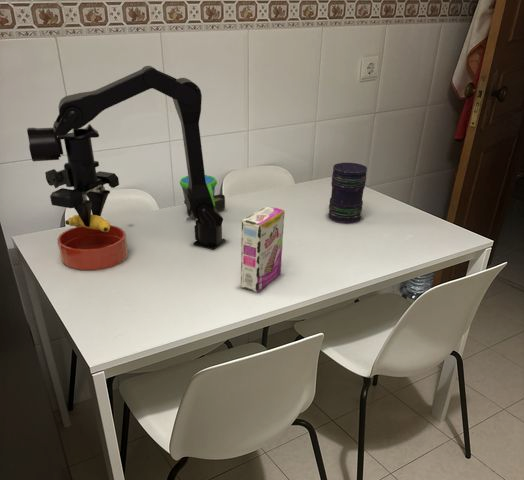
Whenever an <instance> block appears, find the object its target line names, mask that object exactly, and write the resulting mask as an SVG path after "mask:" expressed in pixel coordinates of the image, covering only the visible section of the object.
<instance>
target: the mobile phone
mask: <svg viewBox="0 0 524 480" xmlns="http://www.w3.org/2000/svg"><path fill="white" fill-rule="evenodd" d="M214 202H215V208H216V210H217V211H218V212H219V213H220V212H222V211H224V210H225V209H226V197H225V195H224V194H222V193H219V194H214ZM186 211H187V215H188V216H189V217H187V218H186V221H190V220H193V219H196V218H195V217H194V216H193V214H192V213H191V212H190V211H189V210H188V208H187V207H186Z"/></svg>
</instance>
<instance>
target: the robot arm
mask: <svg viewBox="0 0 524 480" xmlns="http://www.w3.org/2000/svg"><path fill="white" fill-rule="evenodd" d="M148 90H155V91H157V92H158V93H159V92H160V93H162V94H163V95H165V96H167V97H169V98H171V99H172V101H173V105H174V108H175V110H176V114H177V117H178V119H179V121H180V126H181V133H182V140H183V141H182V142H183V147H184V156H185V162H186V170H187V176H188V178H189V184H188V188H183V189H182V193H183V192H184V194H183V197H184V196H185V199H184V200H183V204H184V205H185V207H186V206H187V207H186V209H187V208H188V210H189V211H190V212H191V213H192V214H193V216H194V217H195V218H194V219H196V220H195V225H193V226H194V227H193V228H194V240H195V241H194V242H193V243H192V244H193V246H196V247H201V248H205V249H210V250H216V249H217V248H219V247H220V246H221V245H222V244H224V243H225V242H226V238H223V221H224V218H223V216H222V215H221V214H220V212H218V211H217V210H216V208H215V207H214V205H213V202H212V198H211V195H210V192H209V190H208V187H207V184H206V180H205V175H206V173H205V165H204V156H203V147H202V137H201V131H200V130H201V129H200V119H201V113H202V99H203V97H202V96H203V95H202V91H201V89H200V87H199V86H198V84H196V83H195V82H193V81H192V80H191V79H189V78H187V77H179V78H176V77H174V76H172V75H169V74H167V73H165V72H162V71H160V70H158V69H156V68H155V67H153V66H152V65H145V66H143V67H142V68H141V69H139V70H137V71H135V72H132V73H130V74H128V75H126V76H123V77H122V78H121V77H120V78H119V79H116V80H115V81H113V82H110V83H108V84H106V85H104V86H102V87H99V88H97V89H94V90H90V91H84V92H83V91H82V92H78V93H73V94H68V95H66V96H63V98H61V99H60V100H59V103H58V115H57V117H56V119H55V121H53V125H52V127H27V129H26V132H27V137H28V143H29V145H28V148H29V153H30V157H31V160H32V162H48V161H60V158H61V156H63V155H64V149H63V144H62V140H63V141H64V148H65V153H66V158H67V162H65V163H64V164H63V169H61V170H56V169H55V168H53V169H50V170H47V171H44V172H45V173H44V174H45V180H46V182H47V184H48V185H49V186H50V187H54V188H55V189H57V190H55V191H53V192H51V193H50V195H49V198H50V203H51V205H52V206H55V207H61V208H67V209H74V210H75V212H76V213H77V215H79V216H80V218H81V220H82V222H83V223H84V225H85V226H86V227H89V226H90V221H91V214H92V215H97V216H101V217H102V214H103V213H102V212H103V209H104V208H105V204H106V202H107V199H108V196H109V194H111V190H110V189H106V187H105V185H108V186H109V187H110V188H111V189H115V188H116V187H118V186H120V180H119V177H118V176H117V174H116V173H114V172H108V171H102V170H99V171H97V170H96V169H97V168H98V167H100V163H99V161H98V160H95V155H94V150H93V143H92V139H93V138H94V139H95V138H99V137H100V134H99V131H98V129H95V128H94V127H93V126H92V125H91V124H90V123H91V121H93V120H95V118H96V117H98V116H99V115H100V114H101V113H102V112H104V111H105V110H107V109H109V108H111V107H114V106H116V105H118V104H120V103H122V102H125V101H127V100H129V99H131V98H133V97H135V96H138V95H140V94H142V93H144V92H146V91H148ZM87 124H88V125H87ZM86 125H87V126H86ZM85 126H86V127H85ZM84 127H85V128H84ZM72 131H73V132H72ZM61 186H65V187H66V188H64V187H61ZM59 187H61V188H59ZM58 188H59V189H58ZM70 188H73V189H70Z"/></svg>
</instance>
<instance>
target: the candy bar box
mask: <svg viewBox="0 0 524 480" xmlns="http://www.w3.org/2000/svg"><path fill="white" fill-rule="evenodd" d="M285 211H286V210H284V209H282V208H278V207H272V206H268V205H266V206H265V207H263V208H261V209H259V210H258V211H256V212H255V213H251V215H249V216H246V217H245V218H243V219H242V220H241V243H240V244H241V246H240V247H241V248H240V252H241V253H240V255H241V257H240V288H241V289H244V290H246V291H247V290H248V291H250V292H254V293H259V292H261V290H263V289H264V288H266V286H268V285H269V284H271V282H273V281H274V280H276V279H277V278H278V277H279V276H281V273H282V256H283V255H282V254H283V238H284V224H285V223H284V222H285Z"/></svg>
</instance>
